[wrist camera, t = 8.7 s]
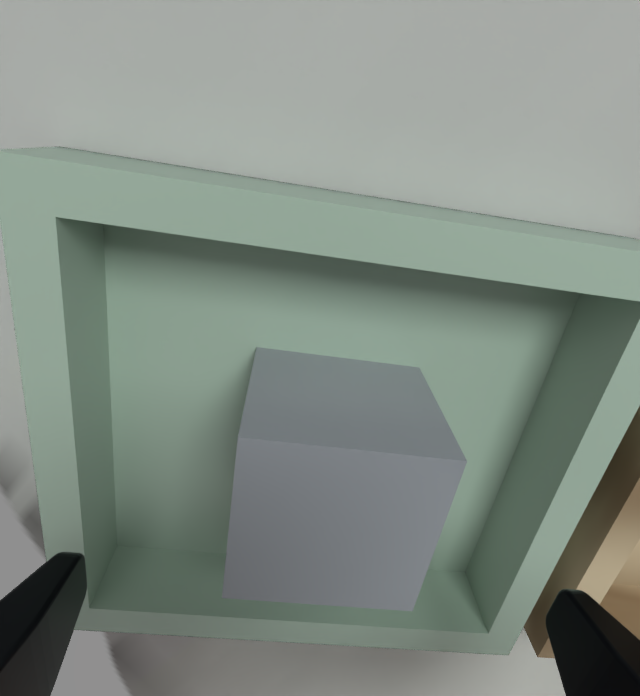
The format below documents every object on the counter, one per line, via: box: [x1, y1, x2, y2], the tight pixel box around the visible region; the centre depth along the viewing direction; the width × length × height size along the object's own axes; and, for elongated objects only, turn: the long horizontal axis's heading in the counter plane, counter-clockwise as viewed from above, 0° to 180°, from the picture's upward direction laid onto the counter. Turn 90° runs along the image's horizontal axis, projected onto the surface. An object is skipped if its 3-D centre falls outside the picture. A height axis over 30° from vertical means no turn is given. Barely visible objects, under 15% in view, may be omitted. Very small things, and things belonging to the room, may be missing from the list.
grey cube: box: [222, 347, 467, 611], centre depth 11 cm, size 4×4×4 cm
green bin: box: [0, 147, 640, 655], centre depth 12 cm, size 13×14×2 cm
